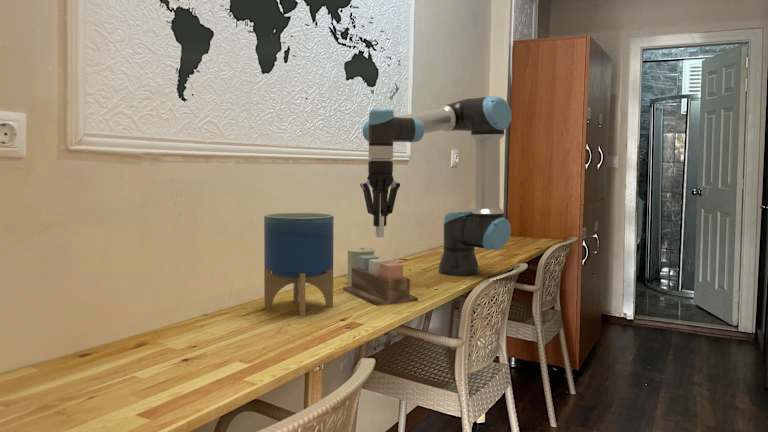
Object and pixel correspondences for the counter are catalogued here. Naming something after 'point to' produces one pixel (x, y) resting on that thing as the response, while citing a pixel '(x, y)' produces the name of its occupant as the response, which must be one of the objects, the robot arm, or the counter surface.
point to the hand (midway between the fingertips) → (379, 236)
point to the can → (356, 259)
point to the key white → (376, 265)
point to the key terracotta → (391, 271)
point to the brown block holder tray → (379, 288)
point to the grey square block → (365, 262)
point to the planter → (298, 255)
